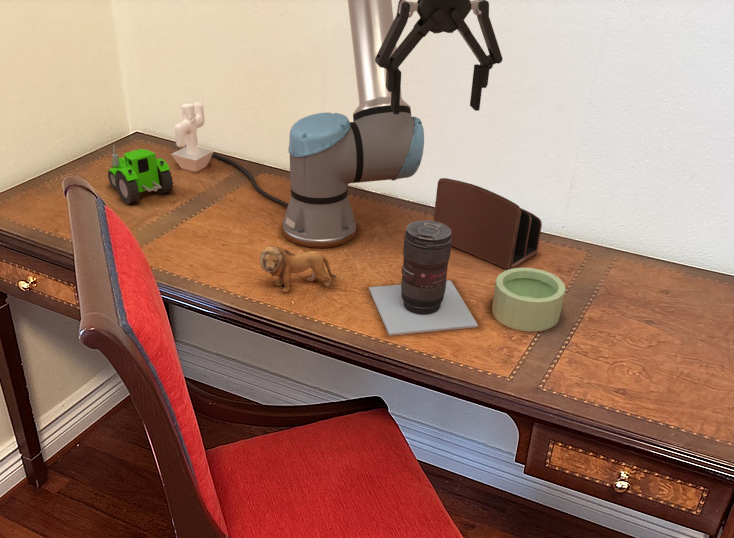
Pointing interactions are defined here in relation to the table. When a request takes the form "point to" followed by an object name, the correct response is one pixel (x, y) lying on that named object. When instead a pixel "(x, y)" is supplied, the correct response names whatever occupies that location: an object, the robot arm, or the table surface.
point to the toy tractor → (139, 174)
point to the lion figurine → (294, 265)
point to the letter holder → (486, 223)
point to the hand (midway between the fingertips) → (434, 110)
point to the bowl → (528, 299)
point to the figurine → (191, 139)
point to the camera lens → (425, 266)
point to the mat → (405, 322)
